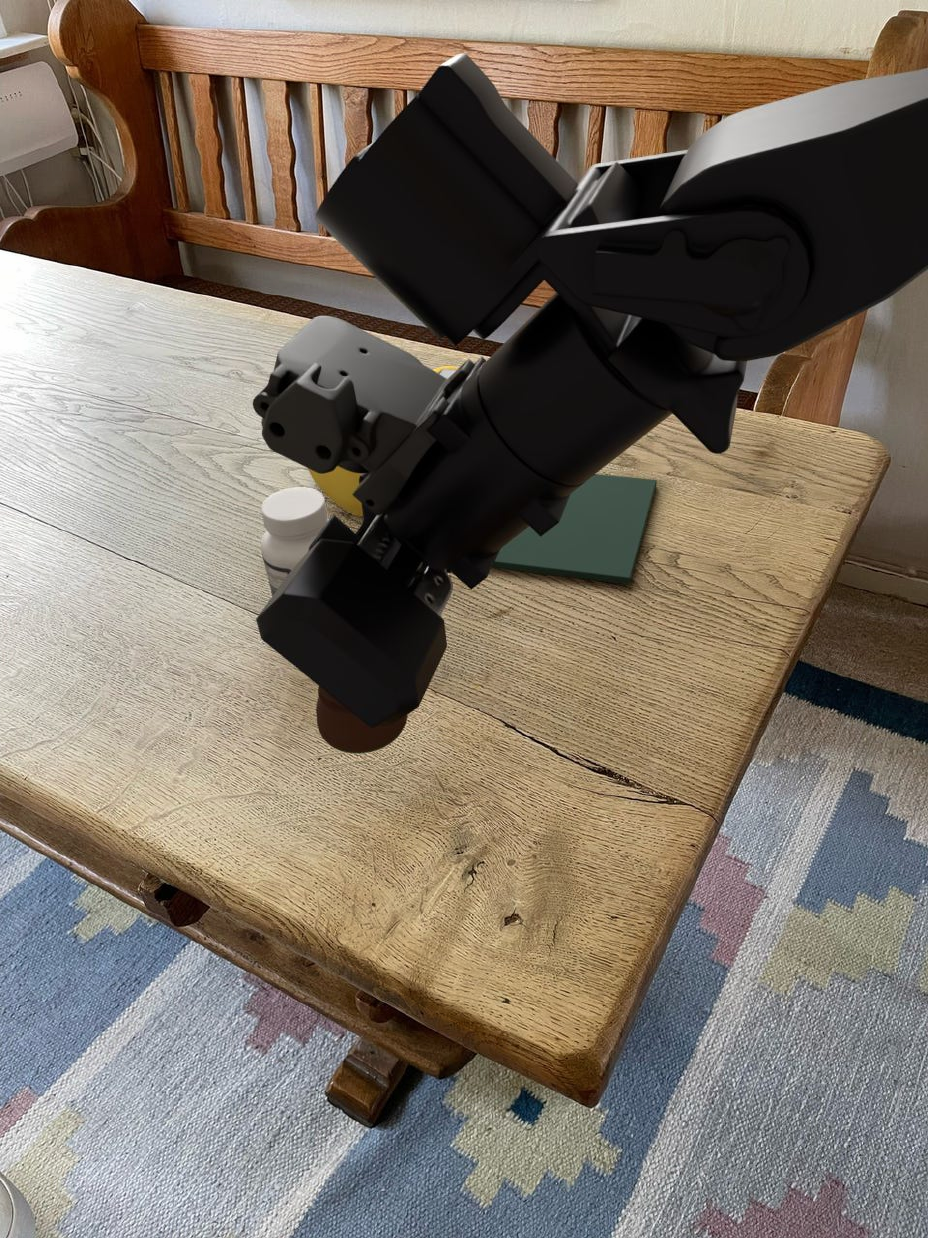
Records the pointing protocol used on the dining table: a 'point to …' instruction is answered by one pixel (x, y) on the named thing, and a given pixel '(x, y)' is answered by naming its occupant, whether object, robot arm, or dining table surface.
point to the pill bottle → (290, 529)
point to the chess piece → (351, 727)
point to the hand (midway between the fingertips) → (314, 617)
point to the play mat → (588, 533)
